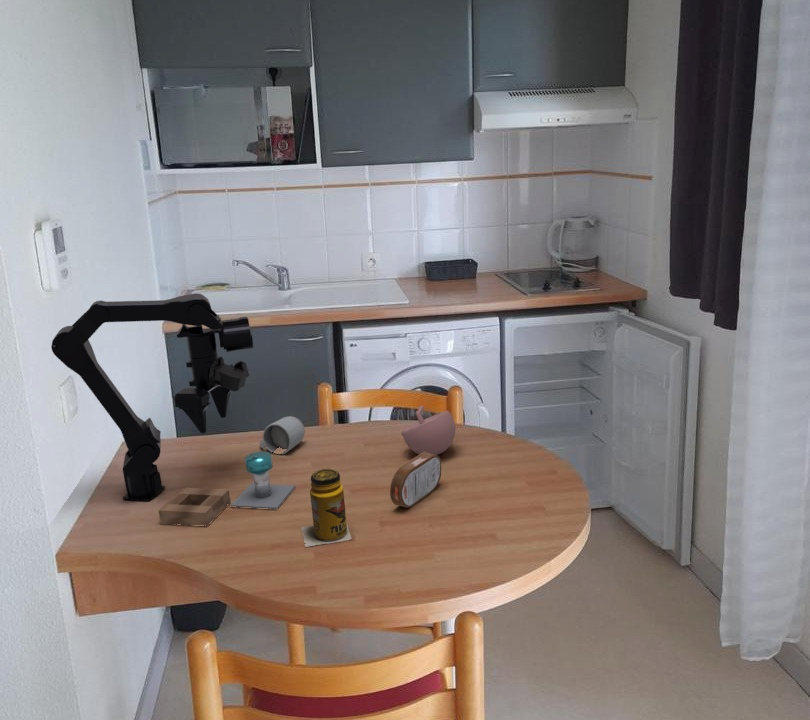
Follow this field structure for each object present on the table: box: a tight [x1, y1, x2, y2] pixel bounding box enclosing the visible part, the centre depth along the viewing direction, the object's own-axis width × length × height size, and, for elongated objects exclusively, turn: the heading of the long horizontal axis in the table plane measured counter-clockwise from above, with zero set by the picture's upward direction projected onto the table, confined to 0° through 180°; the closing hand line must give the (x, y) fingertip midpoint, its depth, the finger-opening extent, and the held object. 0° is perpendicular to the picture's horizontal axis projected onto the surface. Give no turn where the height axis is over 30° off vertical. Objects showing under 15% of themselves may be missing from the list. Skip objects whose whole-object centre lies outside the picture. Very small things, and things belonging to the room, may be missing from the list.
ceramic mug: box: [258, 415, 306, 455], centre depth 178 cm, size 11×8×8 cm
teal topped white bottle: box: [244, 451, 273, 498], centre depth 152 cm, size 5×5×8 cm
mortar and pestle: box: [401, 405, 456, 456], centre depth 168 cm, size 12×12×12 cm
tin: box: [389, 452, 442, 509], centre depth 148 cm, size 15×3×8 cm, turn 145°
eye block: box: [158, 487, 232, 527], centre depth 148 cm, size 10×10×3 cm
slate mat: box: [230, 483, 296, 509], centre depth 154 cm, size 10×10×1 cm
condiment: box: [300, 468, 353, 548], centre depth 136 cm, size 7×8×12 cm
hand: (213, 425), depth 160 cm, fingers open, 9 cm apart
